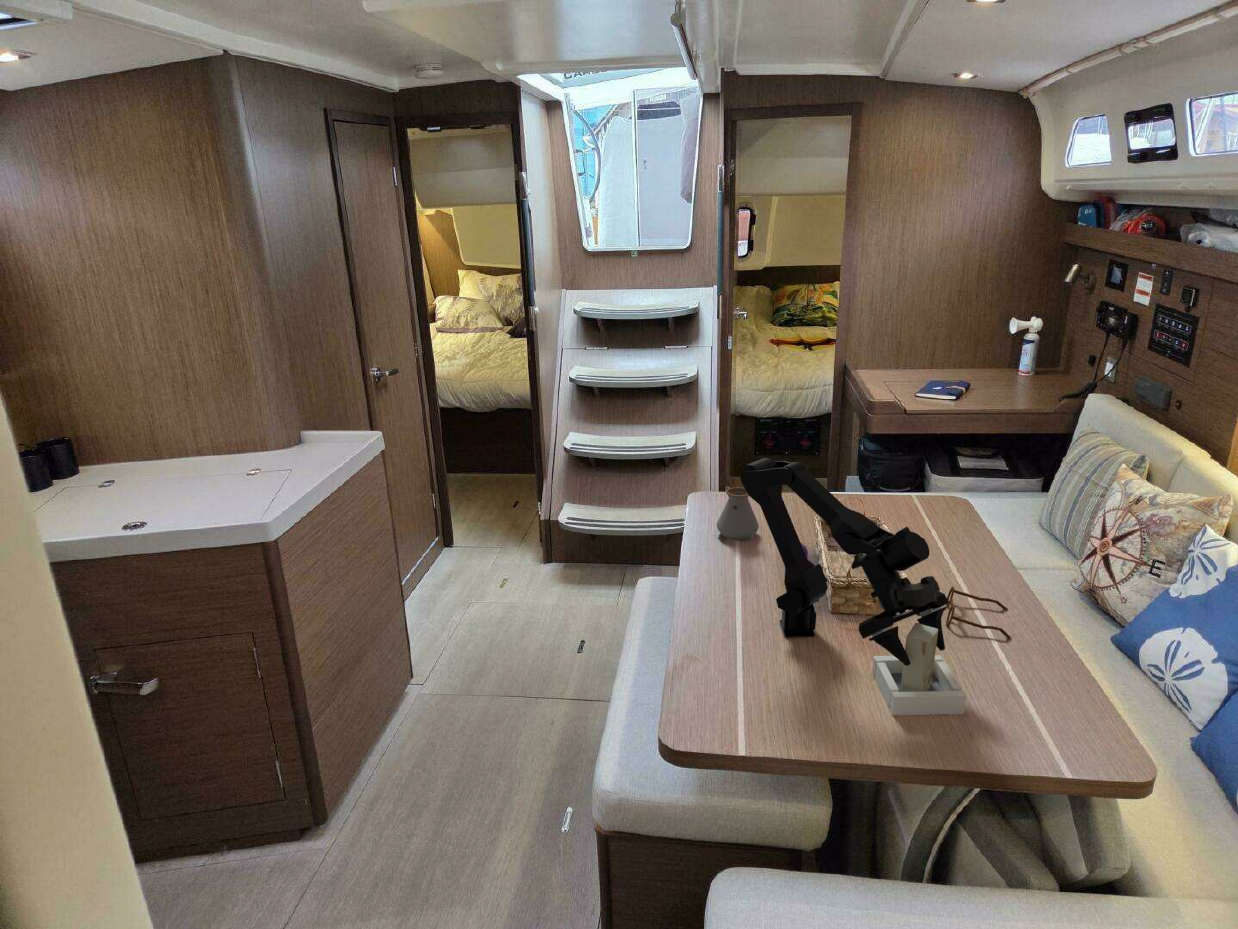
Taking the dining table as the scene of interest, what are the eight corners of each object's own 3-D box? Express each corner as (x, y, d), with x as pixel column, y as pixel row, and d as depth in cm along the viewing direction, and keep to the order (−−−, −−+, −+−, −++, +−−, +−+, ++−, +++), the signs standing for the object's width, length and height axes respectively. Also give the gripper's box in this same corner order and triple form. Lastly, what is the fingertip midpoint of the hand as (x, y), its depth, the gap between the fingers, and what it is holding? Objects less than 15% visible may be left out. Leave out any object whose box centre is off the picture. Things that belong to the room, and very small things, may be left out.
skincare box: (922, 700, 149) (929, 644, 144) (899, 692, 151) (905, 636, 147) (932, 683, 154) (939, 628, 149) (909, 675, 156) (915, 621, 152)
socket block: (892, 715, 147) (894, 697, 145) (871, 673, 159) (873, 656, 157) (963, 714, 146) (966, 696, 145) (937, 672, 159) (940, 655, 157)
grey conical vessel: (718, 524, 226) (719, 475, 221) (759, 527, 224) (761, 477, 219) (710, 558, 207) (711, 505, 202) (755, 562, 205) (757, 508, 199)
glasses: (945, 601, 185) (948, 582, 183) (1007, 611, 180) (1011, 591, 179) (945, 631, 173) (948, 611, 171) (1012, 641, 169) (1015, 621, 167)
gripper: (875, 578, 143) (918, 662, 138) (946, 553, 151) (990, 630, 146) (840, 598, 152) (879, 677, 147) (909, 573, 161) (949, 647, 155)
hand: (926, 657), depth 149 cm, fingers open, 9 cm apart
